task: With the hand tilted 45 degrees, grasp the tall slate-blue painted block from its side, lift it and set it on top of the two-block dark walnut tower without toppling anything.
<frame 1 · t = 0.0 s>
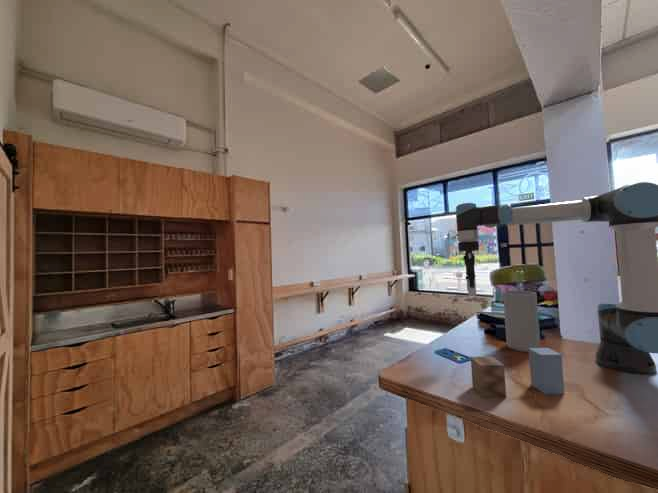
hand: (471, 293, 110), 28 cm above the table, tool pointing down, fingers open, 13 cm apart
tower top: (487, 376, 87), point 5 cm above the table, touching tower base
blue block: (547, 388, 87), on the table
tower base: (488, 392, 87), on the table, touching tower top
handheld gaming device: (452, 357, 118), on the table
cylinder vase: (523, 348, 122), on the table
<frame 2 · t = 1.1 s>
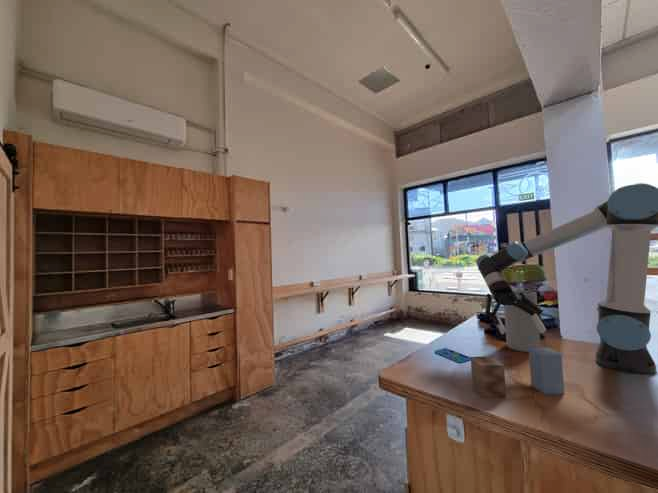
hand: (523, 332, 98), 15 cm above the table, tool tilted 45°, fingers open, 13 cm apart
nothing on the table moved.
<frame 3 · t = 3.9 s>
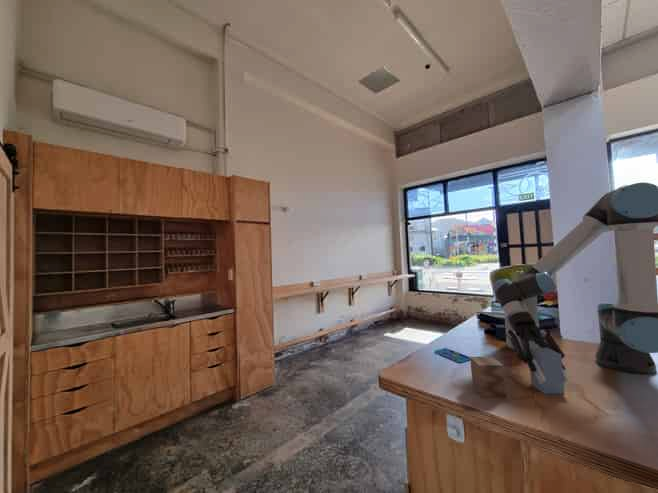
hand: (554, 381, 83), 4 cm above the table, tool tilted 45°, fingers closed on blue block, 6 cm apart
blue block: (547, 388, 87), on the table, touching gripper
everything else where it was.
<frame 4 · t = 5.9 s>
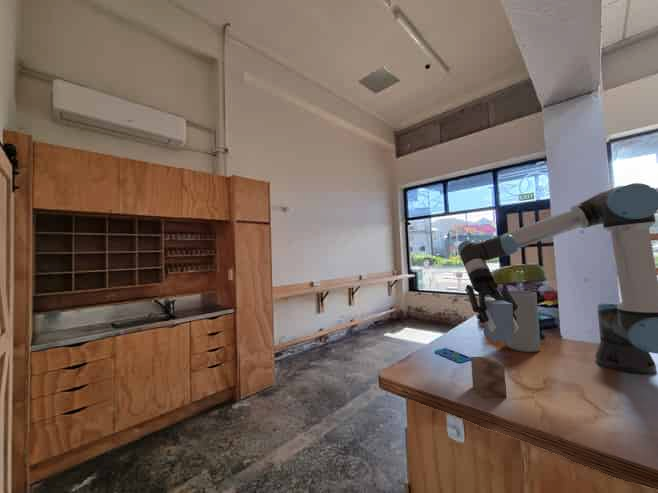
hand: (504, 329, 85), 20 cm above the table, tool tilted 45°, fingers closed on blue block, 6 cm apart
blue block: (499, 338, 89), point 16 cm above the table, touching gripper
everything else where it was.
when the fingers open (15 cm above the table, at t = 7.3 s): blue block drops 2 cm, resting on tower top.
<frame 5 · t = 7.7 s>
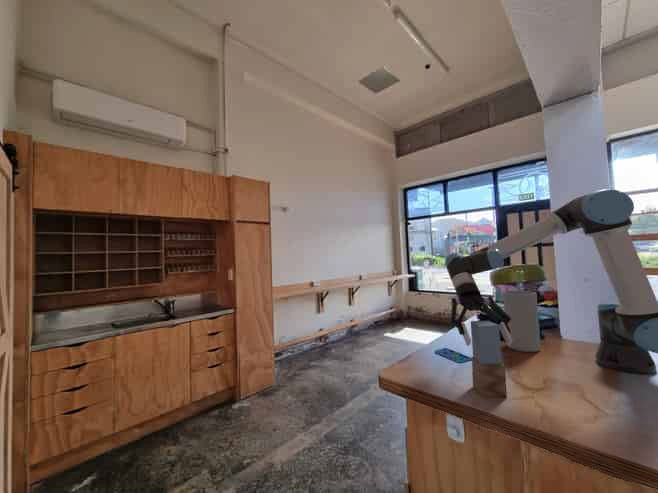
hand: (489, 343, 85), 16 cm above the table, tool tilted 45°, fingers open, 11 cm apart
tower top: (488, 376, 87), point 5 cm above the table, touching blue block, tower base
blue block: (486, 360, 87), point 10 cm above the table, touching tower top
everything else where it was.
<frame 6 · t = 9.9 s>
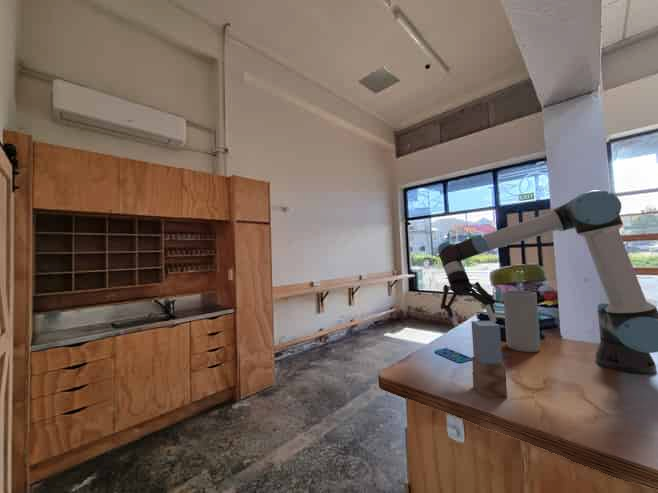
hand: (475, 323, 100), 18 cm above the table, tool tilted 35°, fingers open, 13 cm apart
nothing on the table moved.
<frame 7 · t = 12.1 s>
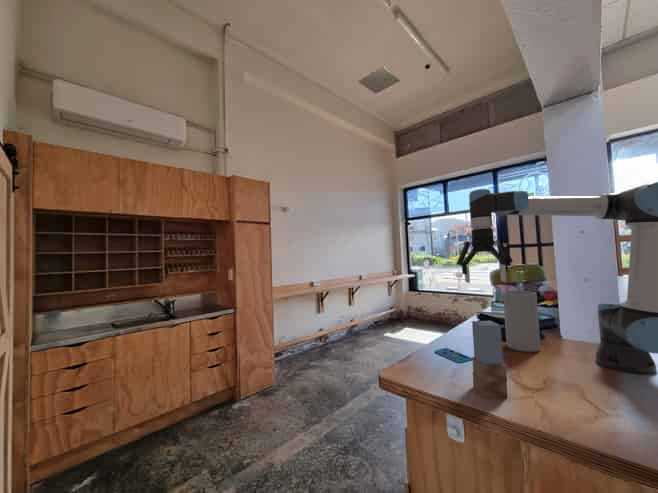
hand: (485, 281, 107), 33 cm above the table, tool pointing down, fingers open, 13 cm apart
nothing on the table moved.
at the end: blue block 0.2 cm off-centre on the tower top, point 5.0 cm above the tower top's base; blue block tilted 0°; tower top moved 0.5 cm from its start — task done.
